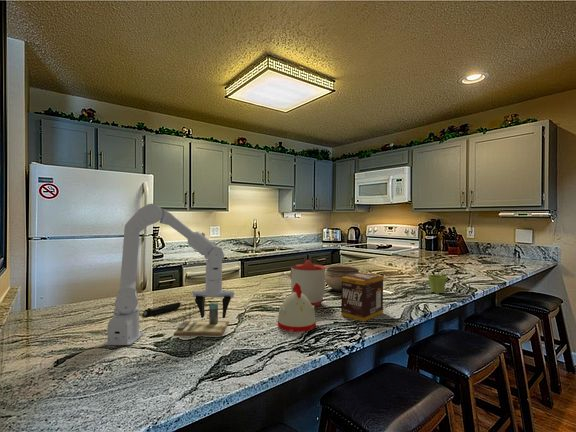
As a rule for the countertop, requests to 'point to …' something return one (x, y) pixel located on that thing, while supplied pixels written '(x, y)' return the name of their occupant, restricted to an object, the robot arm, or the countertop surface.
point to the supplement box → (362, 296)
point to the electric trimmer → (161, 309)
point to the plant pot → (437, 283)
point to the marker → (213, 313)
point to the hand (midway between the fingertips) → (213, 317)
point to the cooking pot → (338, 275)
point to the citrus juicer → (309, 281)
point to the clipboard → (201, 328)
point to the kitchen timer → (296, 312)
